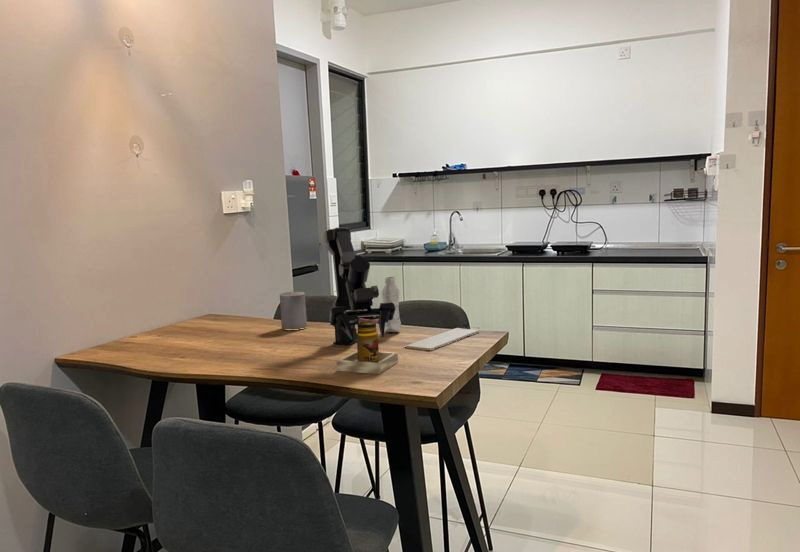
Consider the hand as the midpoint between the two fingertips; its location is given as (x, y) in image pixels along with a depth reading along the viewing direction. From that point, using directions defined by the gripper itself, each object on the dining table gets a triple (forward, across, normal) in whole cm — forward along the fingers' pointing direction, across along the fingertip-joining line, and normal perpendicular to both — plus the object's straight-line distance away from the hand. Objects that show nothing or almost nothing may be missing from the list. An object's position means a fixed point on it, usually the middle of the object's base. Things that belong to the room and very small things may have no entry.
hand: (368, 337), depth 167 cm
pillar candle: (-42, -14, +55) cm, 71 cm away
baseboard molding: (-11, +31, +24) cm, 41 cm away
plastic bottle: (-25, +19, +37) cm, 49 cm away
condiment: (+5, -1, +7) cm, 8 cm away
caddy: (+5, 0, +7) cm, 9 cm away
